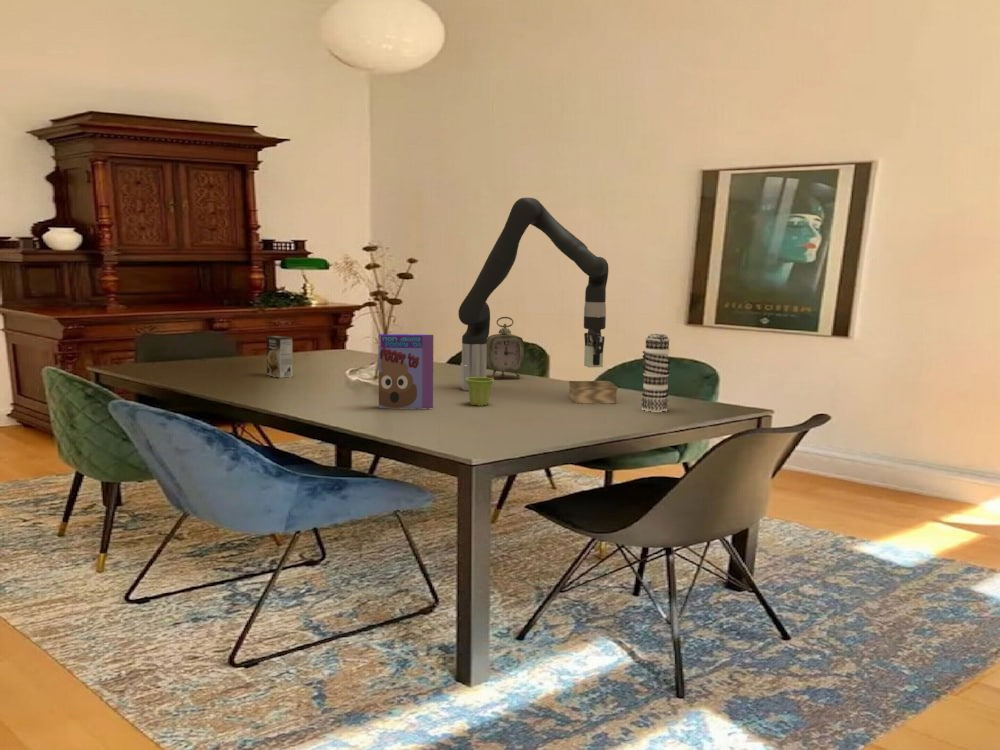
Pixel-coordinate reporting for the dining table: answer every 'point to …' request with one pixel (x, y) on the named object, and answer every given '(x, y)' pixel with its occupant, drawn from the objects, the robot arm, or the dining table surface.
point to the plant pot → (479, 390)
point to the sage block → (591, 358)
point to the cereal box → (405, 371)
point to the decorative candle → (656, 373)
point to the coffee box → (279, 356)
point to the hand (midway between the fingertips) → (593, 363)
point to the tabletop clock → (505, 351)
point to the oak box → (593, 391)
